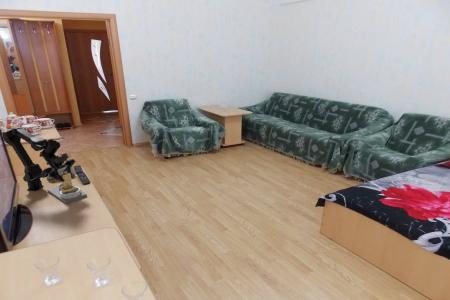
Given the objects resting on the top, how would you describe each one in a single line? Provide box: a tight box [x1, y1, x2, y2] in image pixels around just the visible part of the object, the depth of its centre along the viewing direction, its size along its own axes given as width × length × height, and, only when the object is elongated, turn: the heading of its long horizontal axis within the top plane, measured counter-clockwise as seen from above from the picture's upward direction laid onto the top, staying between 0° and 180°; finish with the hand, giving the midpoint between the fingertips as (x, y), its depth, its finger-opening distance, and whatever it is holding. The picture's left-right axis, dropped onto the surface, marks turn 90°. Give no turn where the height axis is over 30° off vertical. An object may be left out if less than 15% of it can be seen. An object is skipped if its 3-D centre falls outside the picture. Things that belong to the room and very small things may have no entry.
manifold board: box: [47, 183, 88, 205], centre depth 168 cm, size 23×12×5 cm, turn 53°
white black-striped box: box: [45, 162, 75, 180], centre depth 191 cm, size 17×5×10 cm, turn 128°
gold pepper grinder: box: [60, 171, 75, 192], centre depth 161 cm, size 7×7×12 cm
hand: (67, 179), depth 160 cm, fingers closed on gold pepper grinder, 5 cm apart
